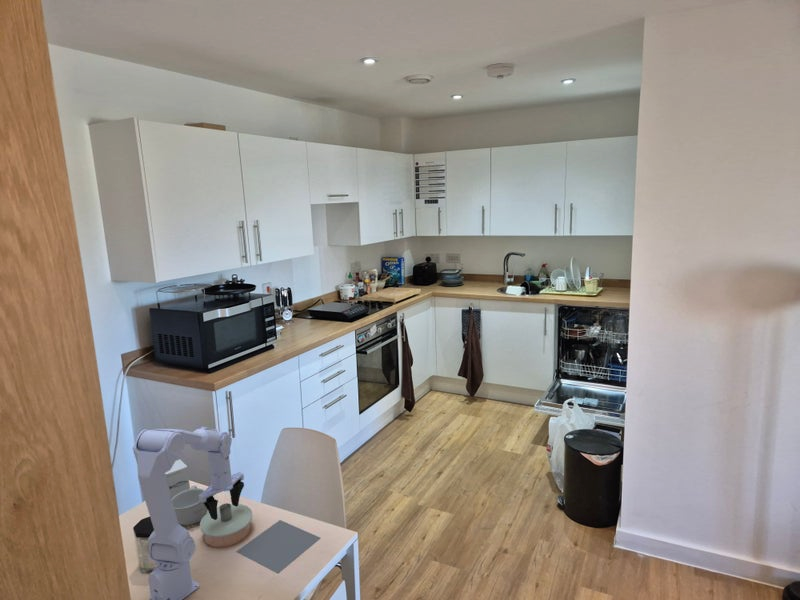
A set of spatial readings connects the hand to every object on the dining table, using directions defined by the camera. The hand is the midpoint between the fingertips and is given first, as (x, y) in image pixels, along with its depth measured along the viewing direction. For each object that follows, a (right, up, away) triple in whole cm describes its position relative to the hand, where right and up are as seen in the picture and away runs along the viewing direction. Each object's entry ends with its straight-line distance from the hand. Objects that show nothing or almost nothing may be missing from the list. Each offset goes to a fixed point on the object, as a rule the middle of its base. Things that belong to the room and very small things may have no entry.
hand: (224, 511), depth 154 cm
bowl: (0, -7, +1) cm, 8 cm away
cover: (0, -3, 0) cm, 3 cm away
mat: (+17, -8, -5) cm, 20 cm away
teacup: (-14, -6, +11) cm, 19 cm away
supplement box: (-23, -5, +20) cm, 31 cm away
